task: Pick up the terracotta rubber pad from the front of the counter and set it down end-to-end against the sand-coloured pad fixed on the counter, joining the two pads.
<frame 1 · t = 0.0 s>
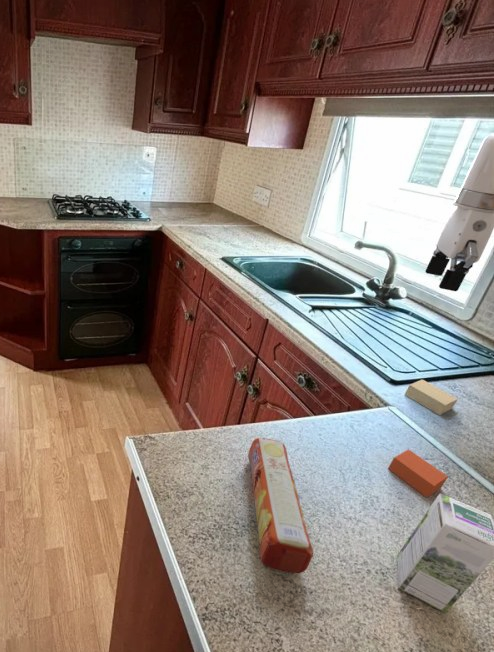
hand: (439, 281, 87), 29 cm above the countertop, tool pointing down, fingers open, 9 cm apart
terracotta pad: (413, 478, 75), on the countertop
sand pad: (427, 401, 97), on the countertop
syrup box: (418, 585, 57), on the countertop
snack package: (268, 510, 66), on the countertop
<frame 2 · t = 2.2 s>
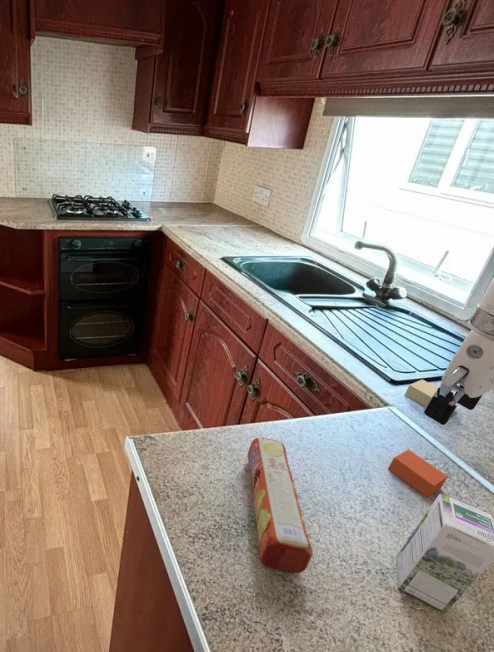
hand: (448, 411, 69), 15 cm above the countertop, tool pointing down, fingers open, 9 cm apart
nothing on the countertop moved.
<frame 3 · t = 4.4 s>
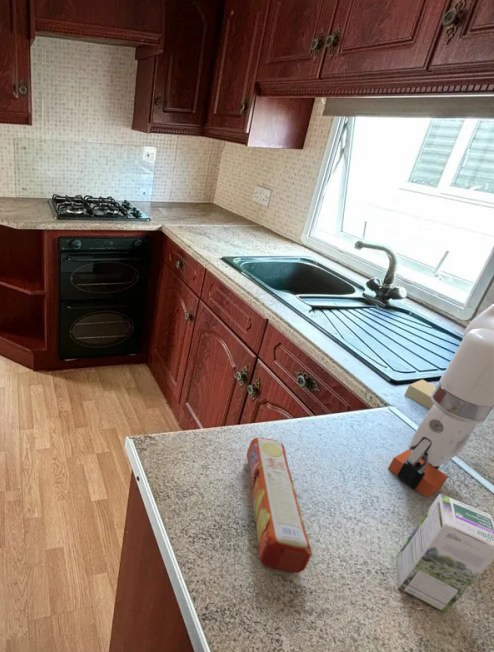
hand: (414, 476, 75), 0 cm above the countertop, tool pointing down, fingers closed on terracotta pad, 5 cm apart
terracotta pad: (413, 478, 75), on the countertop, touching gripper
everything else where it was.
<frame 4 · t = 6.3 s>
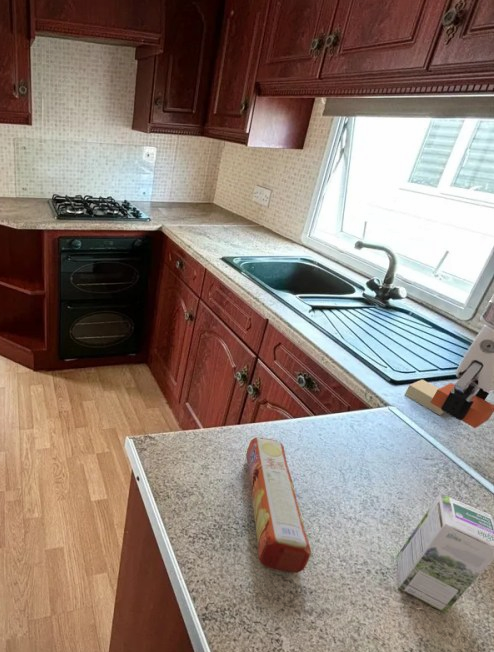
hand: (459, 409, 71), 15 cm above the countertop, tool pointing down, fingers closed on terracotta pad, 5 cm apart
terracotta pad: (458, 411, 71), point 14 cm above the countertop, touching gripper
everything else where it was.
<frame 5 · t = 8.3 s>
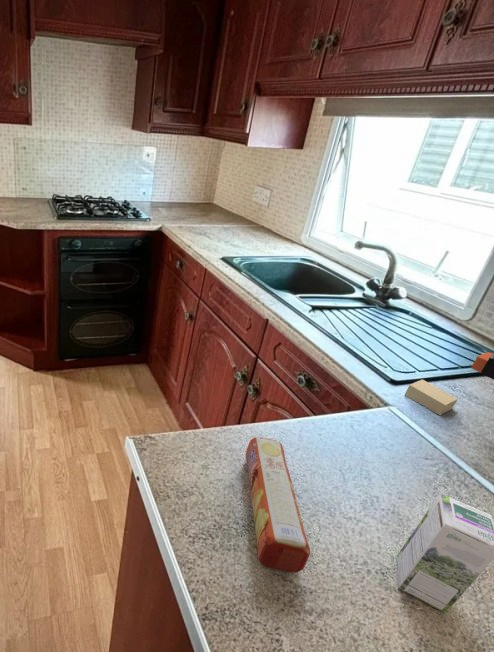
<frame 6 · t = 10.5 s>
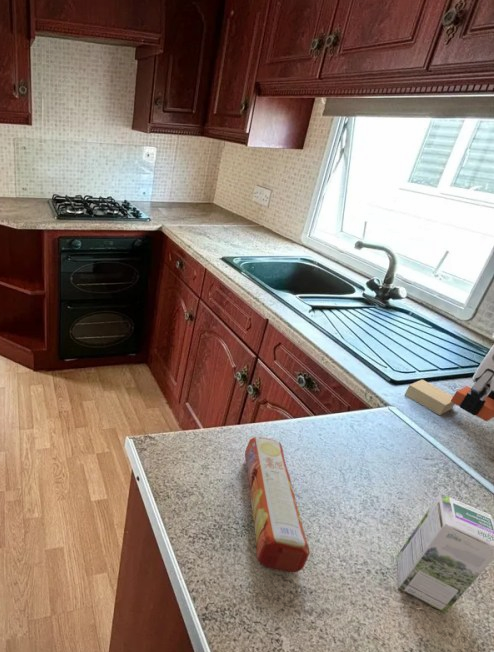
hand: (474, 407, 89), 5 cm above the countertop, tool pointing down, fingers closed on terracotta pad, 5 cm apart
terracotta pad: (472, 408, 90), point 4 cm above the countertop, touching gripper
everything else where it was.
when the fingers open (0 cm above the countertop, at t = 12.1 s): terracotta pad stays where it is, on the countertop.
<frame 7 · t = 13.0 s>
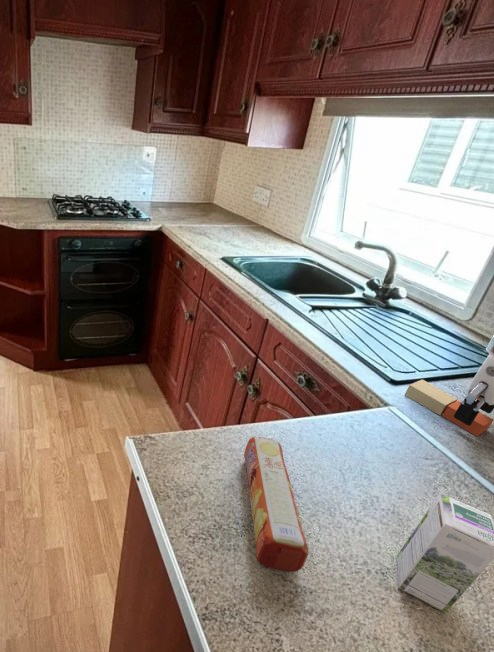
hand: (472, 415, 90), 2 cm above the countertop, tool pointing down, fingers open, 9 cm apart
terracotta pad: (464, 422, 91), on the countertop
everything else where it was.
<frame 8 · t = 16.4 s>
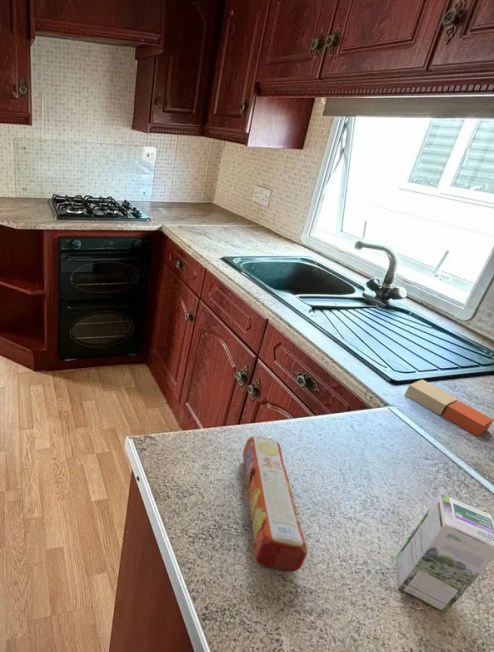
nothing on the countertop moved.
at the end: terracotta pad 0.5 cm from the target spot on the countertop beside the sand pad, on the countertop; terracotta pad 7.8 cm from the sand pad (horizontally); terracotta pad tilted 0° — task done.
